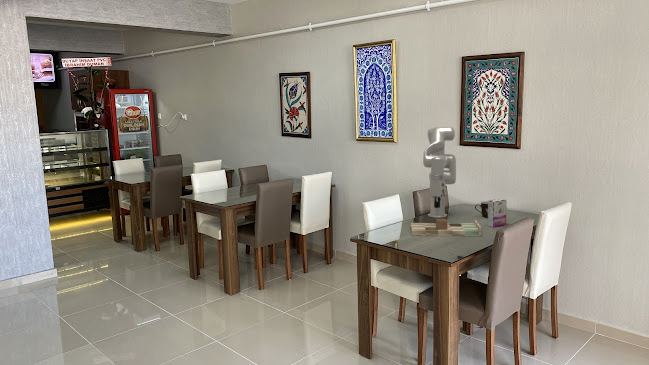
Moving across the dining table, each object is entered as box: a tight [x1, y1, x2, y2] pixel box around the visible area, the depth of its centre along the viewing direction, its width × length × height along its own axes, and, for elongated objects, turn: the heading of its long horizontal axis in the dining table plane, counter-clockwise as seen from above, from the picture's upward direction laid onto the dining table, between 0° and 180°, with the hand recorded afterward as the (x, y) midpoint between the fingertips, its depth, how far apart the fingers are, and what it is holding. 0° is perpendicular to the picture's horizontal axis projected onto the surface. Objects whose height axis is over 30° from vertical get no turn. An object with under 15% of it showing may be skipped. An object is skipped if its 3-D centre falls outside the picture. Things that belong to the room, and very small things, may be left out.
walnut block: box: [435, 218, 448, 229], centre depth 288 cm, size 6×6×5 cm
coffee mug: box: [474, 200, 489, 219], centre depth 326 cm, size 12×9×10 cm
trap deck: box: [410, 219, 482, 237], centre depth 291 cm, size 19×39×6 cm, turn 82°
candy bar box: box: [487, 198, 507, 228], centre depth 302 cm, size 11×5×16 cm, turn 117°
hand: (437, 207), depth 293 cm, fingers closed
